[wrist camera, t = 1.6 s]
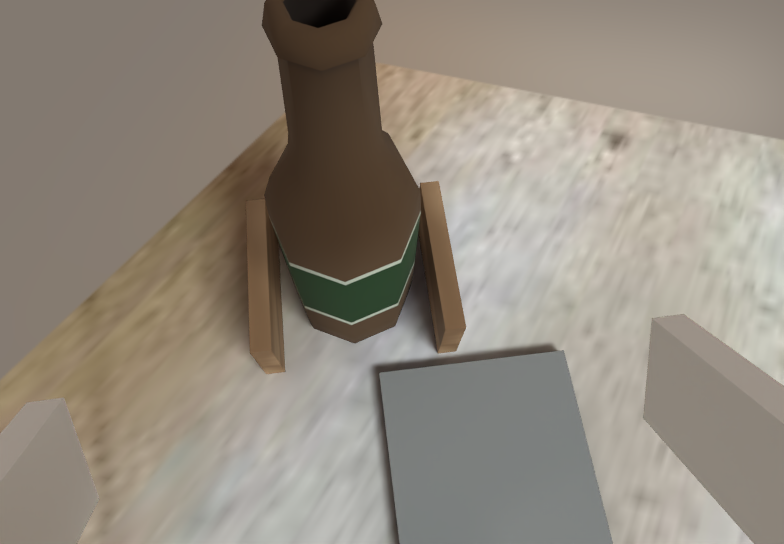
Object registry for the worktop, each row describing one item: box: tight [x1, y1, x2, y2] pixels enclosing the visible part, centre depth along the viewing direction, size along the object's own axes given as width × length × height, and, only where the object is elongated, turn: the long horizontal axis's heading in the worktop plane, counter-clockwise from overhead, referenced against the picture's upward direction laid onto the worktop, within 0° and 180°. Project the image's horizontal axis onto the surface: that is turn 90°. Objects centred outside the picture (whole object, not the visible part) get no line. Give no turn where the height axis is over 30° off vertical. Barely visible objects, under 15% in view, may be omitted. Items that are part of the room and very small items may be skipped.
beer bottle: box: [262, 0, 421, 343], centre depth 28 cm, size 8×8×24 cm
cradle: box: [246, 181, 466, 374], centre depth 37 cm, size 12×11×5 cm
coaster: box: [379, 350, 613, 544], centre depth 35 cm, size 12×12×1 cm
